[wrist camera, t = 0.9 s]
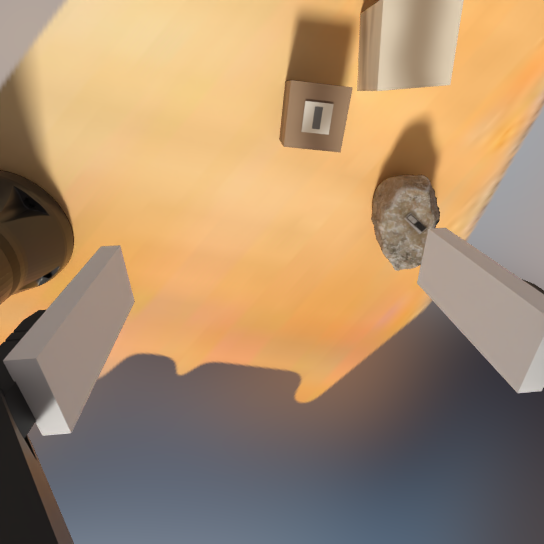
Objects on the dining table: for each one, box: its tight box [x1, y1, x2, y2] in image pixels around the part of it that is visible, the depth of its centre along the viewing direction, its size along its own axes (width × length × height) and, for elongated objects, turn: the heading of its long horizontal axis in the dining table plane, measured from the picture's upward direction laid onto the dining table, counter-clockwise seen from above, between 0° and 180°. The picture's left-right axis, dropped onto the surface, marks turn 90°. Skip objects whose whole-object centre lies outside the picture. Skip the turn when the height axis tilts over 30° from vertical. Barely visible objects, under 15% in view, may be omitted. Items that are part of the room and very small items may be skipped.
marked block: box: [279, 80, 352, 152], centre depth 36 cm, size 6×6×6 cm
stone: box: [371, 175, 440, 271], centre depth 43 cm, size 7×12×7 cm, turn 19°
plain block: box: [357, 0, 463, 91], centre depth 34 cm, size 7×7×7 cm
